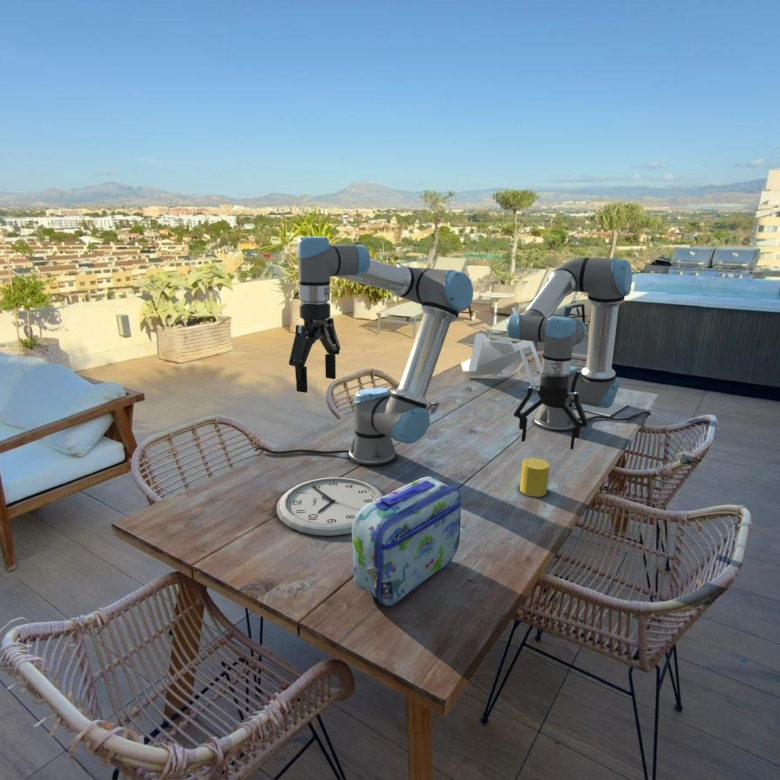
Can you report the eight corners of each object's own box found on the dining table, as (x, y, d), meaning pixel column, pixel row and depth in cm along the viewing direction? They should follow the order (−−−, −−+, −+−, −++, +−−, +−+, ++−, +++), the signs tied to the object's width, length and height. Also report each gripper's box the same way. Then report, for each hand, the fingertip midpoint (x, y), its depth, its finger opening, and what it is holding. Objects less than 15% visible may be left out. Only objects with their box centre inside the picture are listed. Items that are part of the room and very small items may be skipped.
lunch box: (381, 619, 101) (382, 525, 95) (345, 592, 109) (344, 503, 102) (464, 563, 119) (469, 480, 113) (428, 543, 126) (432, 464, 120)
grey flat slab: (608, 416, 214) (573, 407, 224) (608, 416, 214) (573, 408, 224) (628, 404, 229) (594, 396, 238) (628, 405, 229) (594, 397, 238)
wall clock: (392, 527, 129) (268, 531, 127) (391, 533, 130) (269, 537, 127) (383, 473, 158) (282, 475, 155) (383, 478, 158) (282, 480, 156)
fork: (422, 411, 216) (422, 407, 215) (433, 400, 230) (433, 396, 230) (428, 412, 215) (429, 407, 215) (438, 401, 230) (439, 396, 229)
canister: (538, 499, 148) (542, 471, 145) (515, 490, 153) (517, 463, 150) (550, 490, 153) (554, 463, 151) (527, 482, 158) (530, 455, 155)
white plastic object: (482, 418, 266) (461, 395, 241) (463, 346, 288) (443, 318, 264) (553, 394, 254) (538, 368, 229) (528, 321, 276) (512, 289, 251)
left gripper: (298, 309, 116) (301, 400, 123) (352, 297, 138) (353, 374, 144) (271, 307, 119) (275, 395, 126) (328, 295, 141) (329, 371, 147)
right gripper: (507, 371, 146) (501, 441, 153) (602, 382, 137) (592, 456, 144) (512, 365, 153) (506, 432, 160) (603, 375, 144) (593, 445, 150)
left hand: (316, 384), depth 135 cm, fingers open, 13 cm apart
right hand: (547, 443), depth 152 cm, fingers open, 13 cm apart
